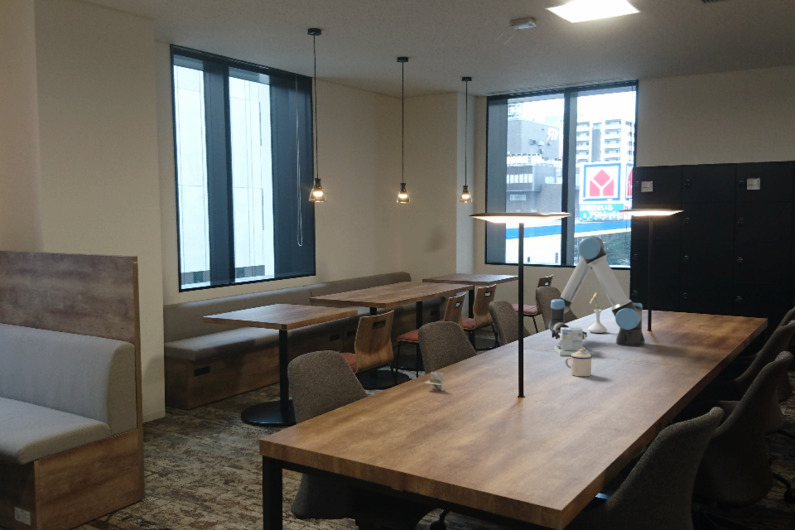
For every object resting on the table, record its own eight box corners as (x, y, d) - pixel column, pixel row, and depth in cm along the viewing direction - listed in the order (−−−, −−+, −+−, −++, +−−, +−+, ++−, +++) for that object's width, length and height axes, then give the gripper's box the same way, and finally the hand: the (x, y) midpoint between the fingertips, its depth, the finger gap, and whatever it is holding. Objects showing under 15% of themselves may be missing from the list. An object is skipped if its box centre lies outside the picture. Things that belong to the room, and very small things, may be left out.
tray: (582, 349, 363) (582, 345, 362) (588, 356, 346) (589, 352, 346) (554, 349, 363) (554, 345, 363) (559, 355, 347) (559, 351, 347)
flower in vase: (591, 330, 424) (592, 290, 422) (609, 332, 417) (610, 291, 415) (584, 333, 413) (584, 292, 411) (602, 335, 406) (603, 293, 405)
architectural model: (440, 393, 277) (440, 375, 277) (425, 391, 281) (425, 373, 280) (443, 391, 280) (443, 373, 280) (428, 389, 284) (428, 371, 283)
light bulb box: (580, 347, 357) (581, 327, 357) (582, 350, 351) (583, 329, 350) (559, 347, 358) (560, 327, 358) (561, 349, 352) (561, 329, 351)
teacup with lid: (594, 374, 306) (595, 348, 306) (587, 378, 299) (587, 352, 298) (569, 370, 314) (569, 345, 313) (561, 374, 306) (561, 349, 305)
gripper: (583, 337, 373) (596, 344, 351) (540, 337, 372) (550, 345, 350) (583, 323, 372) (596, 330, 350) (540, 323, 371) (550, 330, 350)
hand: (573, 337), depth 350 cm, fingers closed on light bulb box, 11 cm apart
